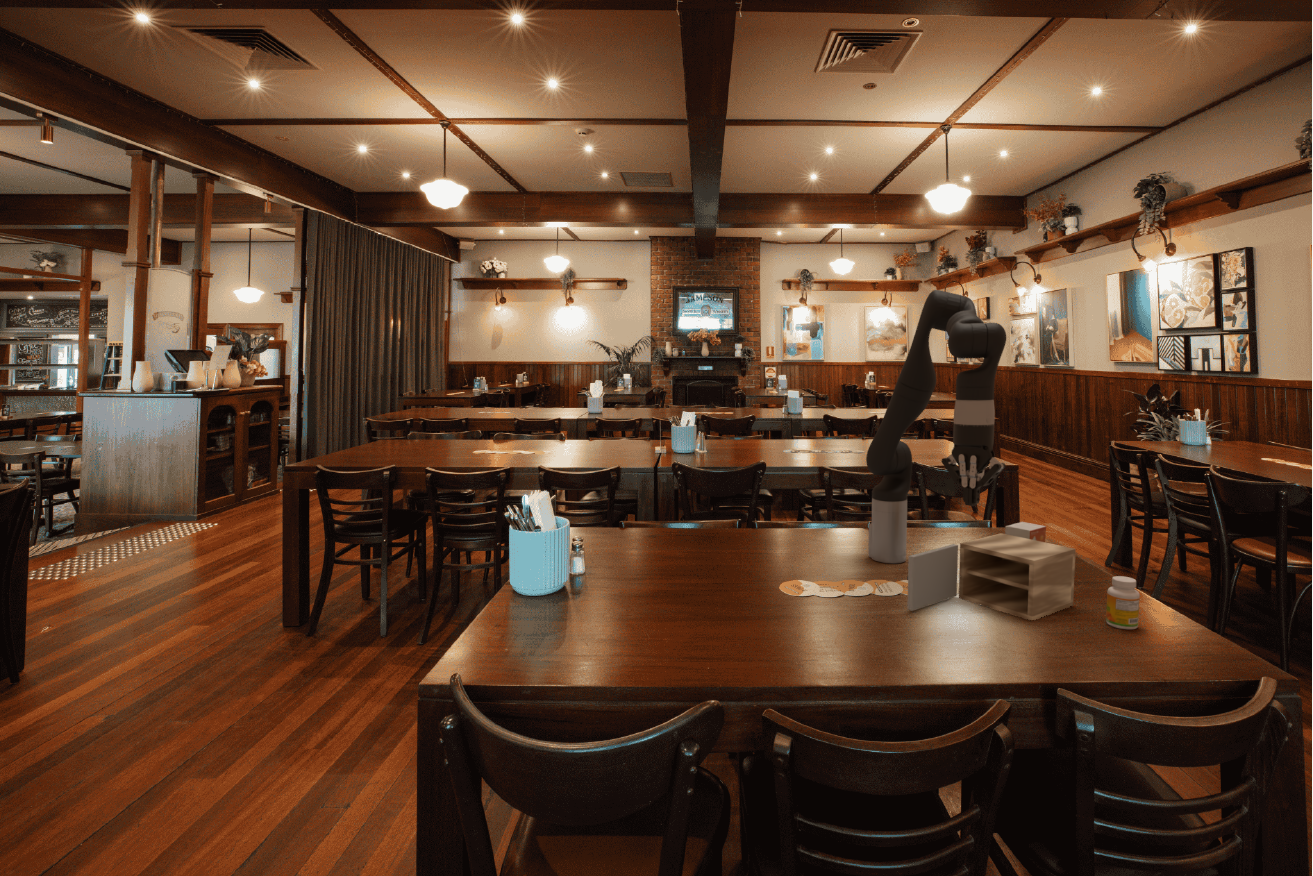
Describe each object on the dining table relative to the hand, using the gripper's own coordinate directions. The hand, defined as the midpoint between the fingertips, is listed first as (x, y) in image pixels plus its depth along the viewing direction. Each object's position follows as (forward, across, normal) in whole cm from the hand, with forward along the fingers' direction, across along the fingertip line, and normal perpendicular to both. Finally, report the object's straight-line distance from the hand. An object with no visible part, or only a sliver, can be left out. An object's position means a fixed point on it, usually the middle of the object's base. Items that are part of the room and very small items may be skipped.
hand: (970, 505), depth 136 cm
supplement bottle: (+25, -20, -22) cm, 39 cm away
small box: (+25, +7, -40) cm, 47 cm away
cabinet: (+25, -1, -19) cm, 31 cm away
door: (+24, +10, -3) cm, 27 cm away
